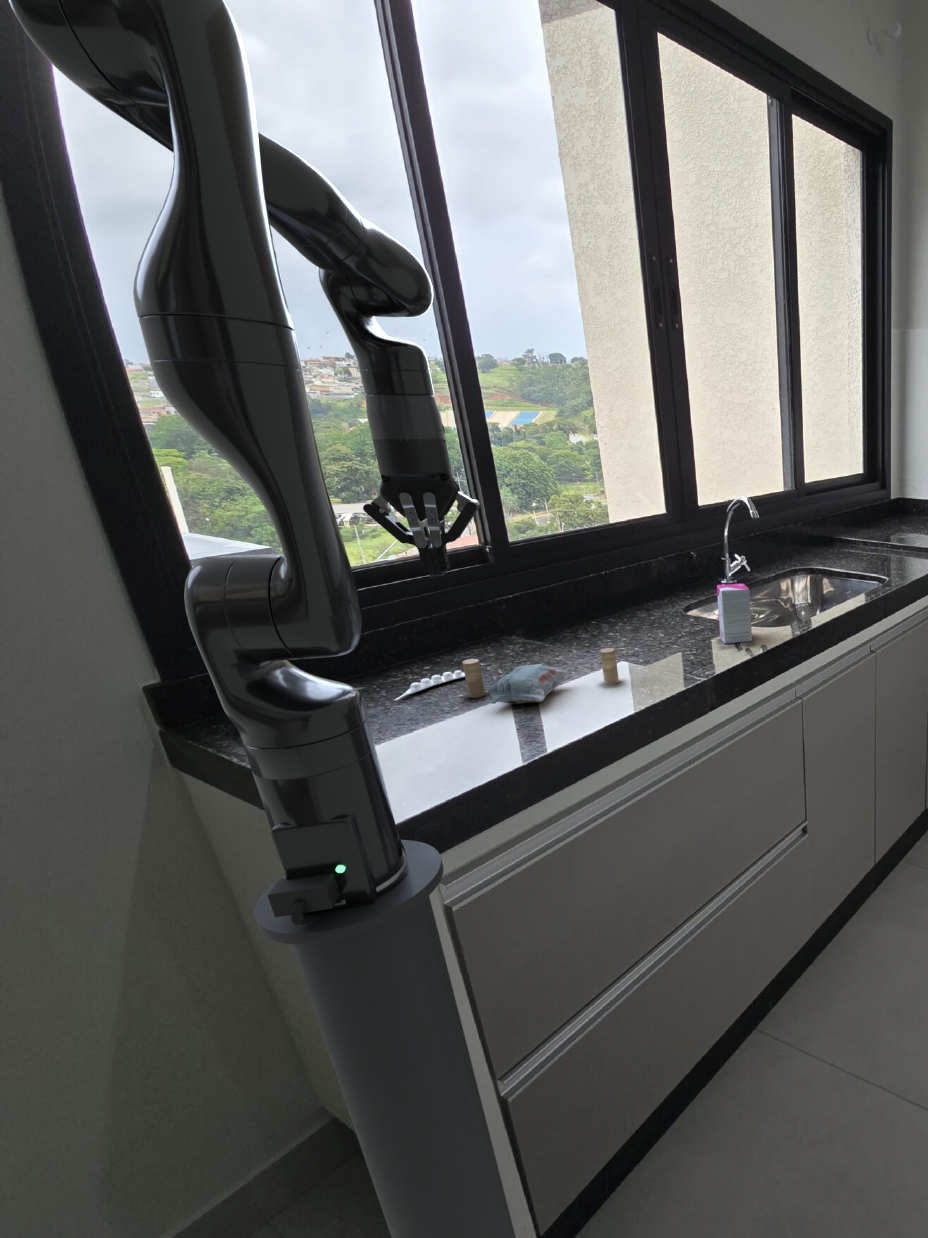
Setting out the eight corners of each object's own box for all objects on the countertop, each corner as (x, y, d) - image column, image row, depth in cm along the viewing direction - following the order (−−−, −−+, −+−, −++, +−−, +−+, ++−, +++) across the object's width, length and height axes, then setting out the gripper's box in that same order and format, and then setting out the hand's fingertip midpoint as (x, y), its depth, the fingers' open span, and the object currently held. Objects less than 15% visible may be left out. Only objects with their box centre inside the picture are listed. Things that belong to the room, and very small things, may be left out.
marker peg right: (618, 684, 128) (614, 651, 126) (604, 685, 128) (599, 652, 125) (619, 679, 130) (615, 647, 128) (604, 680, 130) (600, 648, 128)
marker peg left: (484, 697, 122) (477, 662, 120) (467, 698, 121) (460, 664, 119) (486, 691, 124) (480, 658, 122) (470, 693, 123) (463, 659, 121)
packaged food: (572, 684, 128) (568, 657, 126) (544, 711, 117) (538, 682, 115) (521, 685, 127) (516, 658, 126) (488, 712, 116) (481, 683, 115)
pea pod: (469, 670, 133) (467, 662, 133) (484, 675, 131) (483, 667, 131) (381, 697, 121) (378, 688, 121) (396, 703, 119) (394, 694, 118)
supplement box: (753, 643, 151) (749, 588, 147) (724, 646, 148) (719, 591, 144) (747, 635, 156) (744, 582, 152) (719, 638, 153) (714, 584, 149)
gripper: (332, 436, 84) (369, 584, 90) (463, 436, 88) (489, 578, 94) (355, 433, 91) (387, 571, 97) (475, 433, 95) (499, 566, 101)
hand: (438, 575), depth 95 cm, fingers closed
